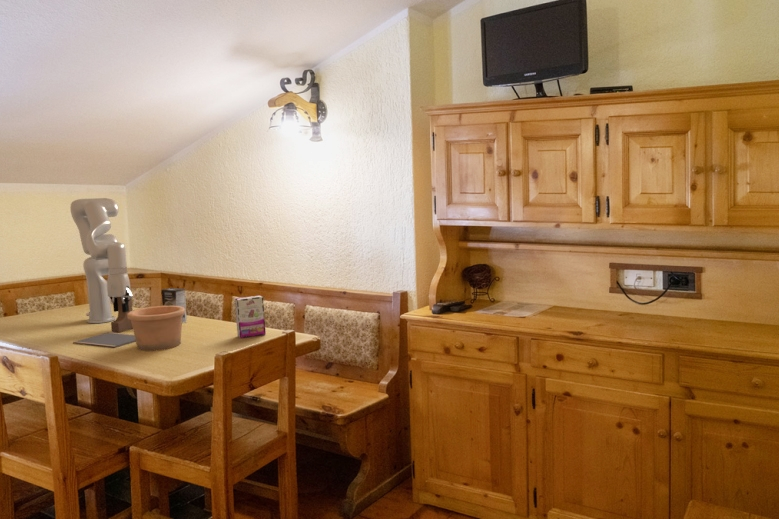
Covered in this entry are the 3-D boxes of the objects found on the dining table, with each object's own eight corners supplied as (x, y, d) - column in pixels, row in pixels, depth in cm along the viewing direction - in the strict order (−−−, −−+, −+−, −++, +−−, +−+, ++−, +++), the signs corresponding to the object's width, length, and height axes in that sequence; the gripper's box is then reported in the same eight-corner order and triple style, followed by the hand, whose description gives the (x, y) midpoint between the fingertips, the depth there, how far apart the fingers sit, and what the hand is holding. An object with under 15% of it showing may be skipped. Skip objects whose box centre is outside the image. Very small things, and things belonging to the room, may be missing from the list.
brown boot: (118, 332, 284) (115, 292, 282) (111, 332, 286) (107, 292, 284) (134, 328, 293) (131, 289, 290) (127, 327, 294) (123, 289, 292)
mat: (73, 343, 268) (73, 341, 267) (108, 333, 284) (108, 332, 284) (114, 348, 257) (114, 346, 257) (148, 337, 273) (148, 336, 273)
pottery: (131, 355, 244) (128, 318, 243) (129, 343, 264) (126, 309, 263) (190, 348, 253) (187, 312, 251) (184, 336, 273) (181, 303, 271)
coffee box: (163, 323, 301) (160, 289, 299) (173, 320, 307) (171, 287, 305) (177, 324, 297) (174, 290, 295) (187, 321, 303) (185, 288, 301)
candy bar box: (262, 332, 275) (260, 294, 273) (266, 334, 271) (263, 296, 269) (236, 336, 270) (234, 297, 268) (239, 338, 266) (237, 299, 264)
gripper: (97, 271, 287) (101, 312, 289) (124, 273, 279) (128, 314, 281) (111, 269, 293) (114, 308, 295) (138, 270, 286) (141, 310, 288)
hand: (121, 311), depth 288 cm, fingers closed on brown boot, 4 cm apart
